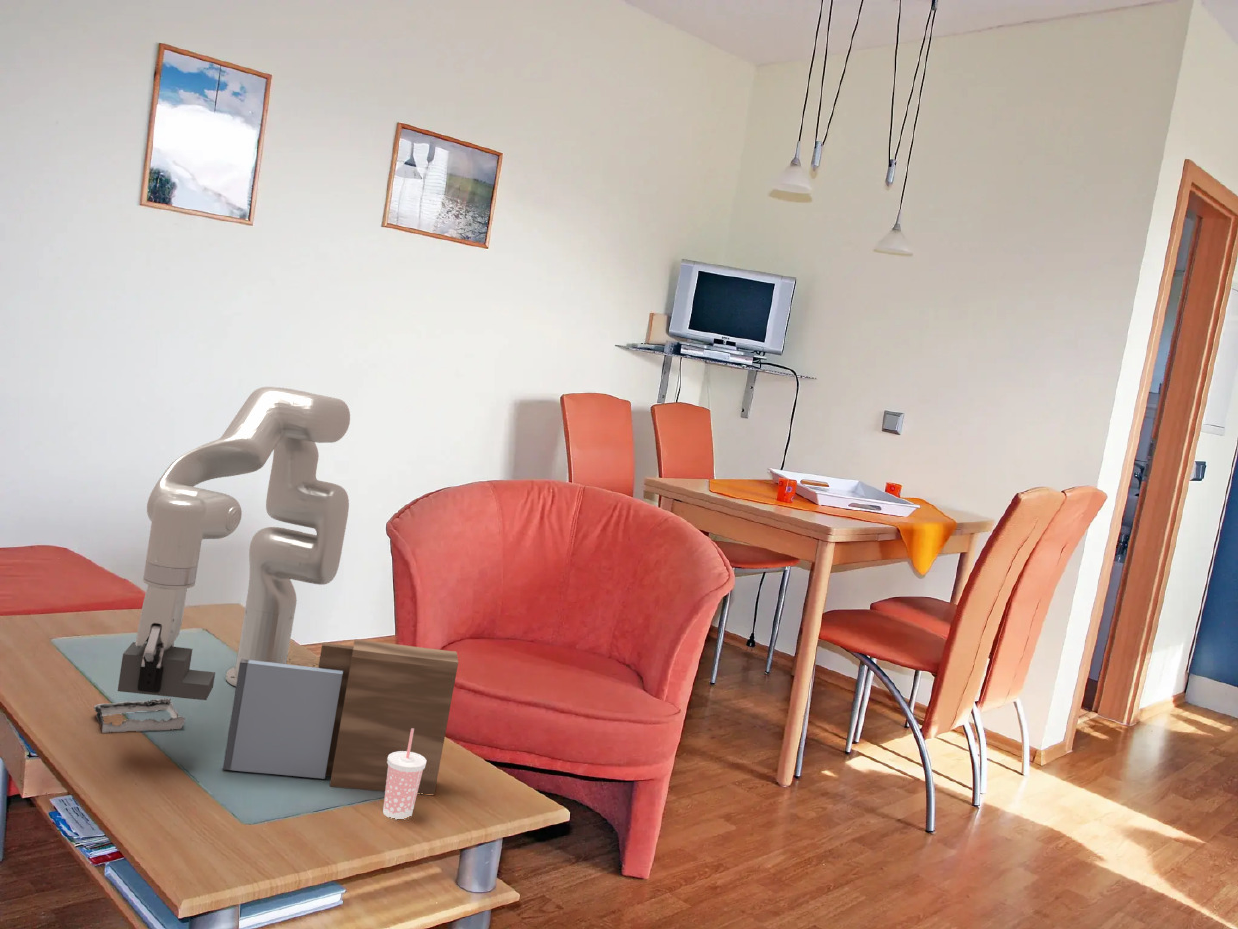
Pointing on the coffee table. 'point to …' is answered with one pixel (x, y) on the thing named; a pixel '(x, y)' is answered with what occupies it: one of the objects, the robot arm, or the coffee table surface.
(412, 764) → the beverage cup
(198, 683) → the grey stepped block
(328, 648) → the door wall
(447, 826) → the coffee table surface
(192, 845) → the coffee table surface
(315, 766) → the sliding door
